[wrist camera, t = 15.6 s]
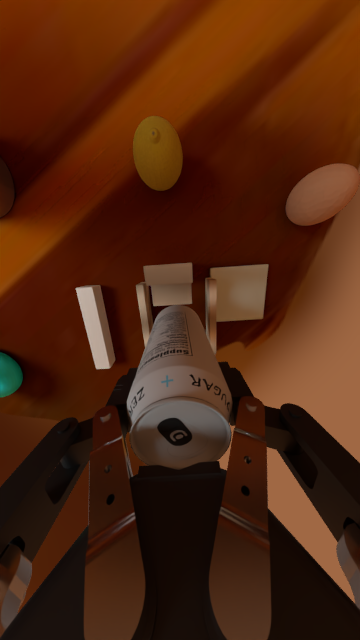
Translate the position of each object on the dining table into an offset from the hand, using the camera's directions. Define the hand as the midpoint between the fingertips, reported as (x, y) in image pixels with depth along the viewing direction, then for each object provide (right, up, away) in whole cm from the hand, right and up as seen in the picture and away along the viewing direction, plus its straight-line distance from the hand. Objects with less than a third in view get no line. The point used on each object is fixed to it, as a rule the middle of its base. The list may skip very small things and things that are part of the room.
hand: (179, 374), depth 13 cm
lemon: (-2, +24, +10) cm, 26 cm away
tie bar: (-14, +3, +17) cm, 22 cm away
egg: (+17, +21, +11) cm, 29 cm away
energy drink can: (0, +4, +9) cm, 10 cm away
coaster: (+10, +9, +15) cm, 20 cm away
